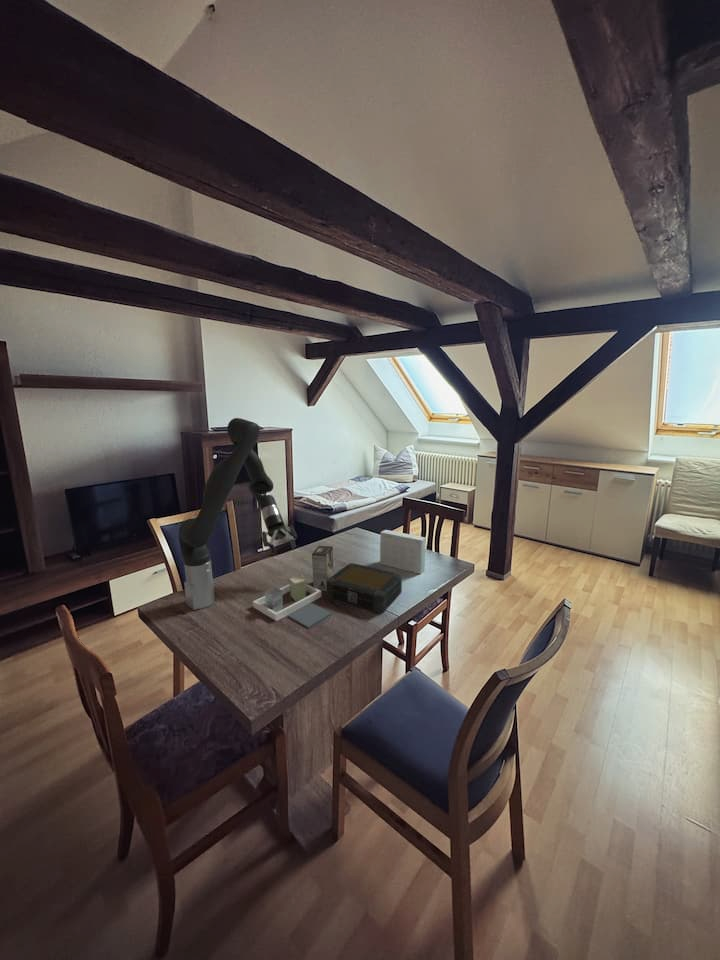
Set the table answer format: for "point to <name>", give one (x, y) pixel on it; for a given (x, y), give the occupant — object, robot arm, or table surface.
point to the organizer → (288, 610)
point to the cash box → (364, 587)
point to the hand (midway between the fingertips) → (284, 551)
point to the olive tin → (297, 588)
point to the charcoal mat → (309, 615)
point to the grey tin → (274, 599)
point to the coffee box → (322, 566)
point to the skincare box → (402, 551)
